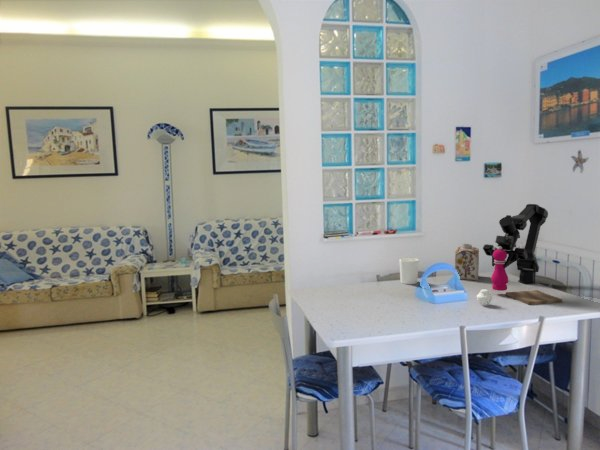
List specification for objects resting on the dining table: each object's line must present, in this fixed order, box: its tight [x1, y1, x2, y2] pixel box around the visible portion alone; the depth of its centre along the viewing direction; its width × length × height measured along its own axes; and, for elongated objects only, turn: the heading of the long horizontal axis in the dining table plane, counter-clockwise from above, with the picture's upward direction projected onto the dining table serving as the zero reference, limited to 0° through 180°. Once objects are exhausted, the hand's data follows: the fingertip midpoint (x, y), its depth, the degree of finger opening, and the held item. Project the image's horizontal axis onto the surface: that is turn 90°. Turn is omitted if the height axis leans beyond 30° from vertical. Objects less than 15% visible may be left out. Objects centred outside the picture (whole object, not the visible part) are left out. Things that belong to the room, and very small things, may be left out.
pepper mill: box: [490, 246, 509, 292], centre depth 207 cm, size 7×7×20 cm
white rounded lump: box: [476, 288, 493, 307], centre depth 193 cm, size 6×6×7 cm
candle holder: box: [398, 257, 420, 285], centre depth 234 cm, size 10×10×12 cm
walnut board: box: [505, 289, 563, 306], centre depth 201 cm, size 16×16×1 cm
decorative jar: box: [454, 243, 480, 281], centre depth 242 cm, size 12×12×18 cm
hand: (498, 266), depth 206 cm, fingers closed on pepper mill, 5 cm apart
